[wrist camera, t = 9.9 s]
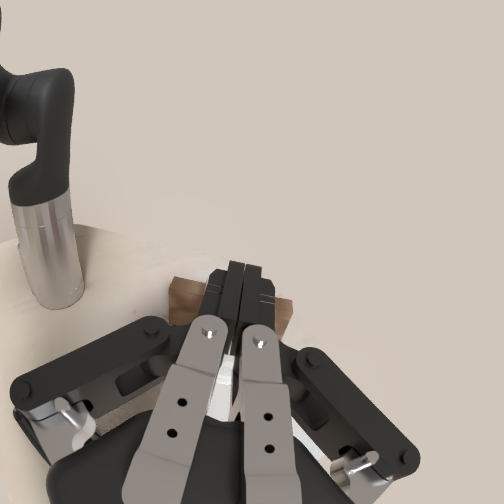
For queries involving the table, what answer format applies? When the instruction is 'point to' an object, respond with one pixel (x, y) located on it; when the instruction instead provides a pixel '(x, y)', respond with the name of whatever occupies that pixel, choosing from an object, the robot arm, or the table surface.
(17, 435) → the table surface
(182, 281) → the walnut board
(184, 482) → the robot arm
